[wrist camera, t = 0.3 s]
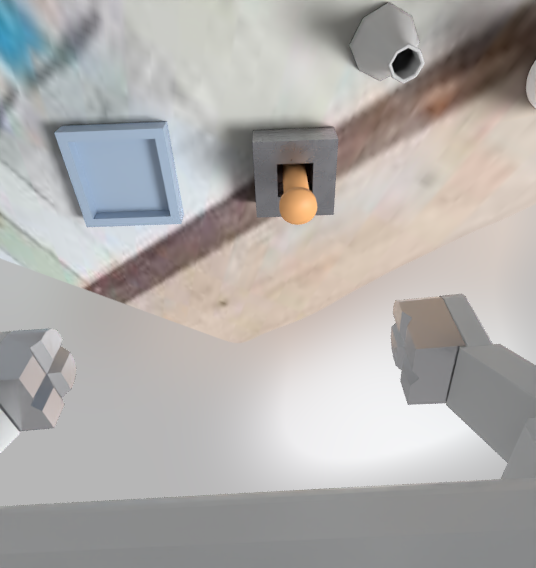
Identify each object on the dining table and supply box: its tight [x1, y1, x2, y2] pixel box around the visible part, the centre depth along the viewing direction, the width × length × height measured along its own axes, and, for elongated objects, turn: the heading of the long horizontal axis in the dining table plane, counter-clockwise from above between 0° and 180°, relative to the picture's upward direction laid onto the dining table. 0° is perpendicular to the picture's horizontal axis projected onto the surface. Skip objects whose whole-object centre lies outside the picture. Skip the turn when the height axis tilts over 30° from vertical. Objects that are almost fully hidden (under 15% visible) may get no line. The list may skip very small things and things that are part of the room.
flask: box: [349, 3, 425, 84], centre depth 44 cm, size 7×7×10 cm
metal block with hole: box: [252, 127, 338, 217], centre depth 55 cm, size 10×10×4 cm
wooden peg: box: [279, 163, 317, 225], centre depth 53 cm, size 4×4×11 cm
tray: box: [54, 122, 184, 227], centre depth 57 cm, size 13×13×2 cm
